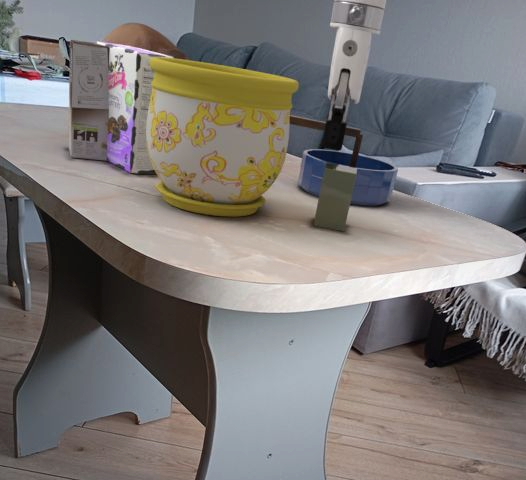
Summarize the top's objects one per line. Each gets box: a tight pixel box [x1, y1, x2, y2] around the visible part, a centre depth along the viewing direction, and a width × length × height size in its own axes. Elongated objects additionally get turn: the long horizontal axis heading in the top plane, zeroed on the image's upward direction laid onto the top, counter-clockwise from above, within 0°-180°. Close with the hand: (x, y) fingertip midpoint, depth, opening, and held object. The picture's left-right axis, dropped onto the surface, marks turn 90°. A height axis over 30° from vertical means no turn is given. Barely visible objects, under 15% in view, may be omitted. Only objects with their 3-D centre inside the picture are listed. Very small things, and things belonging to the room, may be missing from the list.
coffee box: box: [68, 39, 110, 162], centre depth 95 cm, size 9×6×16 cm
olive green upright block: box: [313, 163, 357, 232], centre depth 80 cm, size 4×4×7 cm
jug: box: [101, 22, 190, 60], centre depth 112 cm, size 20×20×30 cm
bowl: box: [297, 148, 399, 207], centre depth 100 cm, size 15×15×6 cm
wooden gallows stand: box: [289, 114, 364, 168], centre depth 100 cm, size 14×5×9 cm, turn 81°
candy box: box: [96, 41, 173, 175], centre depth 92 cm, size 14×6×16 cm, turn 37°
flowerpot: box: [146, 57, 300, 218], centre depth 78 cm, size 18×18×16 cm
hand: (331, 147), depth 99 cm, fingers closed on wooden gallows stand, 1 cm apart
